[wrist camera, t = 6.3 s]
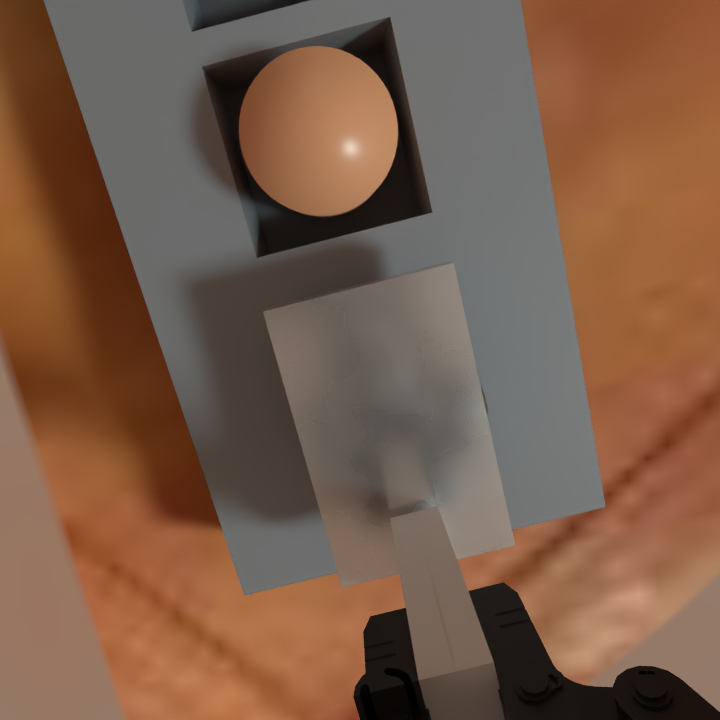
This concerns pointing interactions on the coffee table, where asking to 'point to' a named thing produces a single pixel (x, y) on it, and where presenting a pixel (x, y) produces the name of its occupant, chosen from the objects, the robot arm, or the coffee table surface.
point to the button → (318, 131)
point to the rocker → (390, 416)
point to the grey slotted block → (333, 236)
